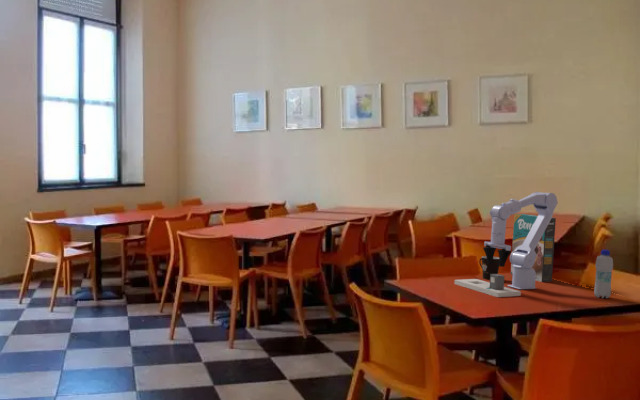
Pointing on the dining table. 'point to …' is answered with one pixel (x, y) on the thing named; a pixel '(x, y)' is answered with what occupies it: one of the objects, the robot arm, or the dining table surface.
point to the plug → (497, 281)
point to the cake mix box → (543, 247)
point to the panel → (486, 288)
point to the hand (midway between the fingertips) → (495, 265)
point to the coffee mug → (489, 267)
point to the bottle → (603, 274)
